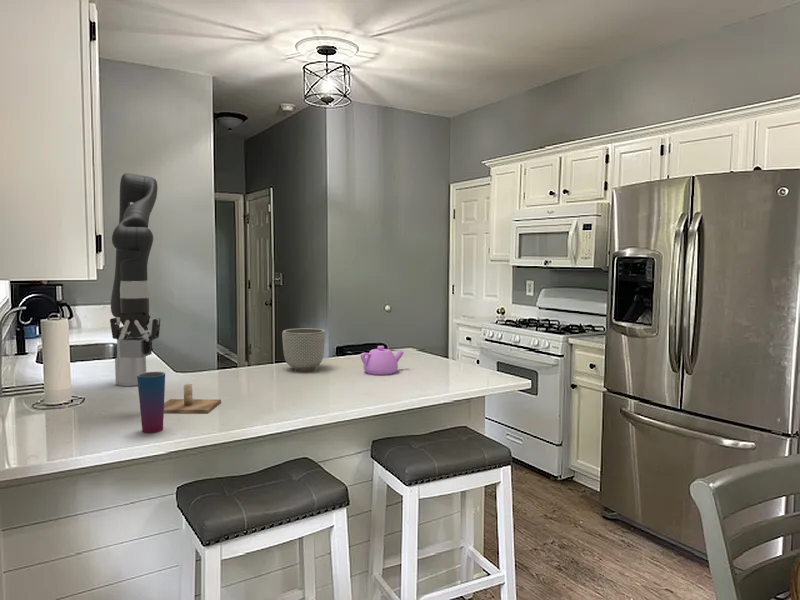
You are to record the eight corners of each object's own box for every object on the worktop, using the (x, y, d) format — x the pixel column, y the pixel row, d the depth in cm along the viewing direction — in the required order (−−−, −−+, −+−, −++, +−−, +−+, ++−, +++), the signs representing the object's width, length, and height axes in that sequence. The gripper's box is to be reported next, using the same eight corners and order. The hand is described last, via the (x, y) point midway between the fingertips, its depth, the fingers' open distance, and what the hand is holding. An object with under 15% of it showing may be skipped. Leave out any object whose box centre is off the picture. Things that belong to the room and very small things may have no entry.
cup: (144, 426, 151) (142, 371, 150) (170, 425, 151) (168, 371, 150) (134, 434, 144) (132, 377, 143) (161, 433, 145) (160, 376, 144)
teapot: (412, 372, 224) (412, 346, 223) (369, 378, 213) (369, 350, 212) (393, 366, 236) (393, 341, 235) (352, 371, 224) (352, 345, 224)
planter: (273, 370, 226) (273, 330, 225) (306, 364, 240) (306, 326, 238) (301, 376, 215) (300, 335, 214) (334, 369, 228) (334, 330, 227)
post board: (153, 412, 164) (152, 389, 163) (170, 402, 176) (169, 380, 175) (207, 413, 164) (207, 389, 163) (221, 402, 176) (220, 380, 175)
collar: (120, 357, 160) (119, 340, 159) (130, 353, 166) (130, 337, 165) (141, 357, 159) (141, 340, 159) (151, 354, 166) (151, 337, 165)
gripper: (102, 297, 158) (104, 355, 159) (153, 297, 157) (154, 356, 159) (117, 295, 165) (118, 351, 166) (165, 295, 165) (166, 351, 166)
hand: (136, 353), depth 163 cm, fingers closed on collar, 6 cm apart
